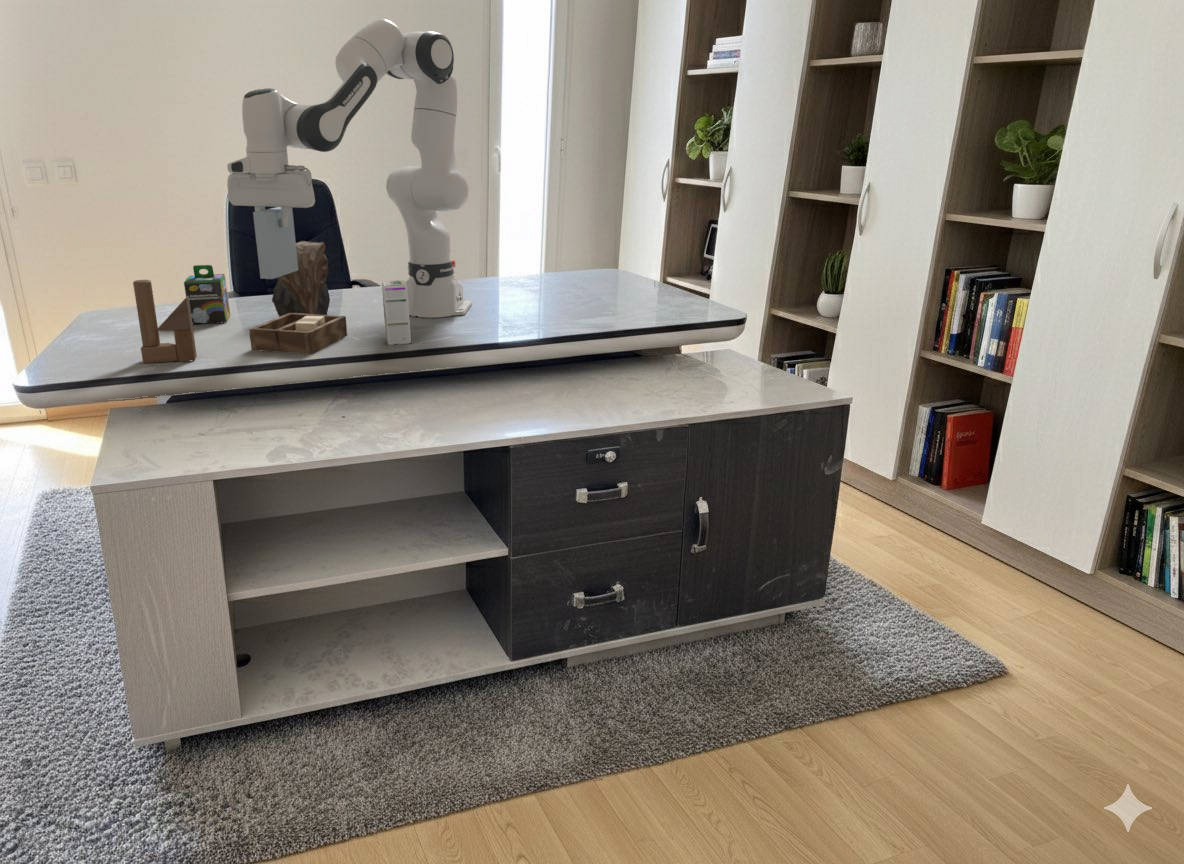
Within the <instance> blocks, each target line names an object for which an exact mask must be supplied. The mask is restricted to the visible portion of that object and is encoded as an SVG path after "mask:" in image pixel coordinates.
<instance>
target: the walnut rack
mask: <svg viewBox="0 0 1184 864" xmlns="http://www.w3.org/2000/svg"><path fill="white" fill-rule="evenodd" d="M305 316H325V324H322V325H320V326H318V327H316V328H314V329H311V330H309V331H307V332H306V331H295V330H296V325H295V323H296V322H298V321H299V320H301V319H302V318H303V317H305ZM347 330H348V329H347V316H346V315H332V314H331V315H329V314H327V315H317V314H301V313H288V314H285V315H283V316H280V317H279V316H278V317H276V318H273V319H271V320H268V321H266V322H263V323H261V324H257V325H256V326H253V327H251V328H249V329H248V331H249V337H250V338H249V340H250V341H249V342H250V349H252V350H251V351H259V350H262V352H273V351H277V352H276V353H289V354H290V353H291V354H301V355H312V354H314V353H316V352H318V351H320V350H322V349H324V348H326V347H328V346H330V345H332V344H334V343H336V342H339V341H340V340H342V339H344V338H346V337H348V331H347ZM345 336H346V337H345ZM343 337H344V338H343ZM341 338H342V339H341ZM339 339H340V340H339Z"/></svg>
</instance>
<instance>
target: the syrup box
mask: <svg viewBox="0 0 1184 864" xmlns="http://www.w3.org/2000/svg"><path fill="white" fill-rule="evenodd" d="M405 282H406V280H389V281H382V282H381V293H382V302H383V303H382V304H383V305H382V306H383V315H384V317H383V318H384V328H385V329H384V330H385V340H386V343H387V345H390V346H391V345H392V346H393V345H394V344H398V345H409V343H411V344H412V338H411V337H412V336H411V321H410V315H409V307H408V294H407V285H406V283H405ZM394 346H395V345H394Z"/></svg>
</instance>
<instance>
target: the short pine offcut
mask: <svg viewBox="0 0 1184 864" xmlns="http://www.w3.org/2000/svg"><path fill="white" fill-rule="evenodd" d="M322 324H325V316H305V317H303V318H302V319H301V320H299V321H298V322H296V323H295V325H296V331H306V332H307V331H309V330H311V329H314V328H316V327H318V326H320V325H322Z"/></svg>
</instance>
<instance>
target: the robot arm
mask: <svg viewBox="0 0 1184 864" xmlns="http://www.w3.org/2000/svg"><path fill="white" fill-rule="evenodd" d="M454 58H455V56H454V50H453V46H452V43H451V41H450V40H449V38H448V37H447V36H446V35H444V34H442V33H439V32H436V31H433V30H431V31H410V32H407V33H403V32H402V31H401V29H400V27H398V26H397V25H396V24H395V23H394V22H392V21H391V20H388V19H386V18H380V19H379V18H378V19H375V20H373V21H372V22H370V23H368V24H367V25H366V26H364V27H363V28H361V29H359V30H358V31H357V32H356V33H355V34H354V35H352V36H351V38H350V39H348V41H346V42H345V44H343V46H342V47H341V48H340V49H339V51H338V53H337V55H336V57H335V69H336V72H337V74H338V76H339V78H340V80H341V81H342V83H341V84H340V86H338V88H337V89H336V91H334V93H333V94H332V95H331V96H330V98H329V99H328V100H326V101H325V102H321V103H317V104H298V103H297V102H295V101H292V100H290V99H288V98H287V97H285V96H284V95H282V94H281V93H279V91H278V90H277V89H275V88H262V89H261V88H260V89H254V90H251V91H248V92H246V94H244V96H243V99H242V105H241V108H242V109H241V111H242V114H241V115H242V126H243V133H244V135H245V137H246V148H245V151H246V152H245V153H246V156H245V157H243V158H240V159H236V160H235V161H231V162H228V163H227V167H226V168H227V171H228V173H230V174H229V175H228V177H227V181H226V182H227V183H226V184H227V198H228V201H229V202H230V203H231V205H232V206H242V207H244V206H246V207H254V212H257V211H261V210H266V208H267V207H270V208H276V207H281V212H284V213H283V215H282V218H281V219H278V223H279V227H287V226H288V217H289V215H290V213H291V207H292V208H298V209H299V208H300V209H301V208H302V209H303V208H304V209H307V208H311V207H314V206H315V203H316V199H315V198H316V197H315V192H314V187H313V182H312V180H313V179H312V178H313V177H312V173H311V171H310V170H309V168H308V167H305V166H304V165H293V164H291V165H289V157H288V147H290V148H295V149H301V150H303V149H304V150H313V151H317V152H323V153H327V152H331V151H333V150H335V149H336V148H337V147H338V146H339V145H340V143H341V142H342V140H343V137H344V136H345V134H346V131H347V127H348V126H349V124H350V122H352V121H351V120H353V118H354V116H356V115H357V113H358V112H359V111H360V109H361V108H362V107H363V105H364V104H365V103H366V101H368V99H369V98H370V96H371V95H372V94H373V92H374V91H375V89H376V87H377V84H378V83H379V81H381V80H382V79H383V78H384V77H385V75H387V76H390V77H392V78H394V79H398V80H404V79H406V80H413V82H414V86H415V89H416V95H415V98H414V99H415V100H414V105H413V114H412V116H413V117H412V123H411V134H410V140H411V142H412V144H413V146H414V147H415V148H416V149H417V150H418V152H419V156H420V161H421V166H415V165H414V166H413V165H407V166H402V167H399V168H396V169H393V170H392V171H391V172H390V173H389V174H388V177H387V179H386V183H385V184H386V193H387V196H388V197H389V199H390V201H392V202H393V204H395V206H396V207H397V209H398V211H399V213H400V215H401V217H402V220H403V223H404V226H405V229H406V234H407V242H408V254H409V261H408V263H407V264H408V265H407V270H408V273H407V274H408V276H409V277H408V279H406V280H405V283H406V285H407V294H408V307H409V316H410V315H411V317H415V316H418V317H417V318H445V317H452V315H453V316H464V315H466V314H467V312H468V311H469V309H470V308H471V307H472V305H473V303H472V301H471V300H469V299H468V300H467V299H464V288H463V284H462V283H461V282H460V281H459V280H458V279H457V278H456V276H455V275H454V273H455V271H454V268H455V267H456V264H457V263H456V260H455V259H453V260H452V259H451V241H450V240H451V239H450V238H451V237H450V236H451V235H450V232H449V230H448V229H447V228H446V227H445V226H444V225H443V224H442V222H441V220H440V218H439V216H438V214H437V213H438V212H450V211H455V210H456V211H457V210H459V209H461V208H462V207H464V205H465V204H466V202H467V200H468V197H469V184H468V182H467V180H466V178H465V176H464V175H463V173H461V171H460V170H459V167H458V163H457V161H456V155H455V144H454V143H455V132H456V123H457V122H456V121H457V120H456V119H457V113H458V112H457V111H458V88H457V86H458V85H457V81H456V78H455V77H454V75H453V71H454V64H455V63H454V62H455V59H454Z"/></svg>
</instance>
